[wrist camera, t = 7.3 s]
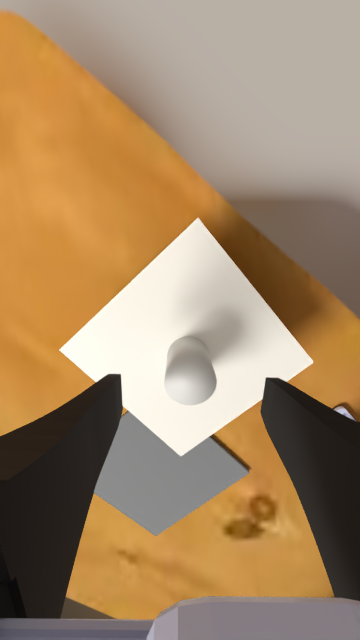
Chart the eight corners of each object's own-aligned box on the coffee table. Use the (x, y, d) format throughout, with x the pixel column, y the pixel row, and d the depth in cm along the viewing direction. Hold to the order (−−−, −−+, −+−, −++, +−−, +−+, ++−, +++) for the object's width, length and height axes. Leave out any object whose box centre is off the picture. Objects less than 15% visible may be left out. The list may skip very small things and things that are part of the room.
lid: (309, 358, 17) (348, 390, 13) (180, 450, 19) (181, 500, 15) (197, 219, 14) (204, 205, 10) (63, 346, 17) (27, 375, 13)
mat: (248, 469, 26) (249, 472, 25) (156, 532, 29) (155, 536, 28) (155, 386, 23) (155, 389, 22) (62, 466, 26) (60, 469, 25)
